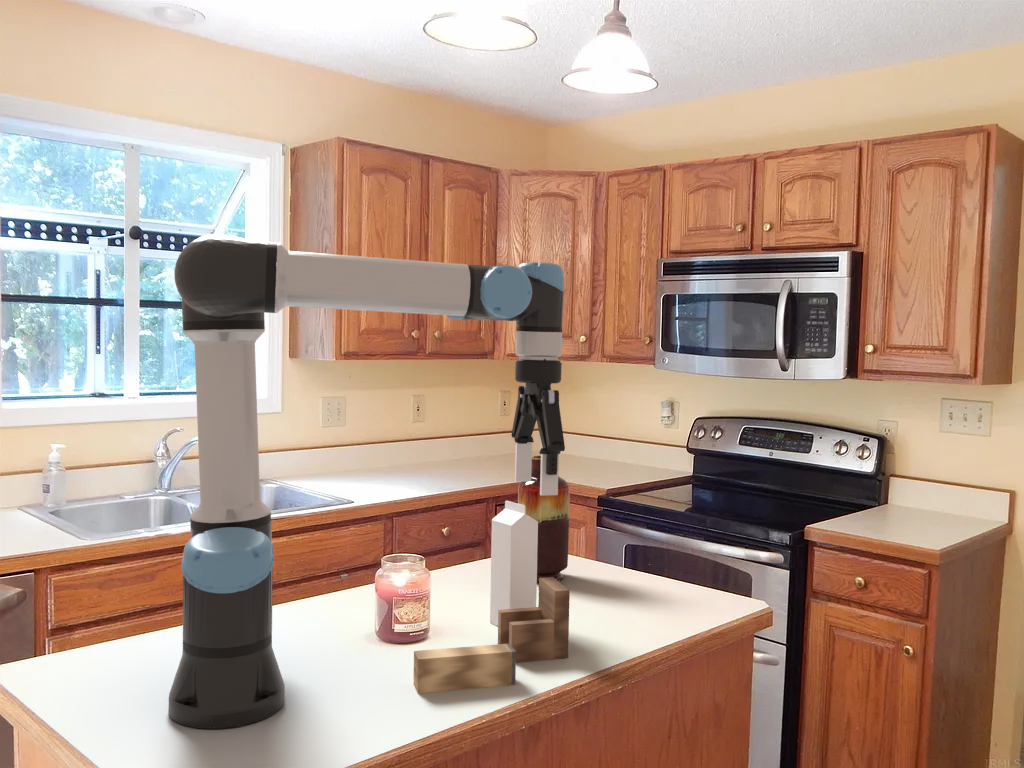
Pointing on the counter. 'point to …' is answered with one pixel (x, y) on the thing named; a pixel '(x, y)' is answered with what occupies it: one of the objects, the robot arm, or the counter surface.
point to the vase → (548, 522)
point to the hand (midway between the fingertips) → (535, 488)
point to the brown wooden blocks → (538, 624)
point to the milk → (513, 560)
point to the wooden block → (464, 668)
